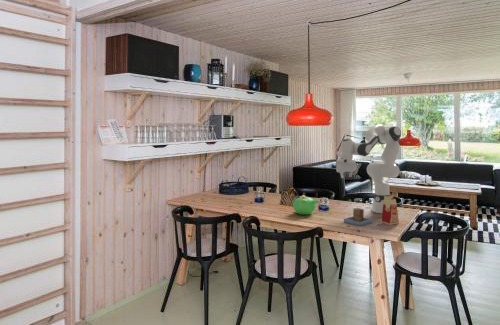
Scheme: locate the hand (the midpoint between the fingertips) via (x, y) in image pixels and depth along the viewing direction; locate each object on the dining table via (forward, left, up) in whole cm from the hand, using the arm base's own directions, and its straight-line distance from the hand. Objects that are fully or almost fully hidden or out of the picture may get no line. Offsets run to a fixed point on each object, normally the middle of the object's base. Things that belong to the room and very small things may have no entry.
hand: (346, 177), depth 280 cm
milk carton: (-4, +35, -29) cm, 46 cm away
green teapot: (+25, -20, -29) cm, 43 cm away
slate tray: (+13, +21, -29) cm, 38 cm away
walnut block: (+13, +21, -28) cm, 38 cm away
